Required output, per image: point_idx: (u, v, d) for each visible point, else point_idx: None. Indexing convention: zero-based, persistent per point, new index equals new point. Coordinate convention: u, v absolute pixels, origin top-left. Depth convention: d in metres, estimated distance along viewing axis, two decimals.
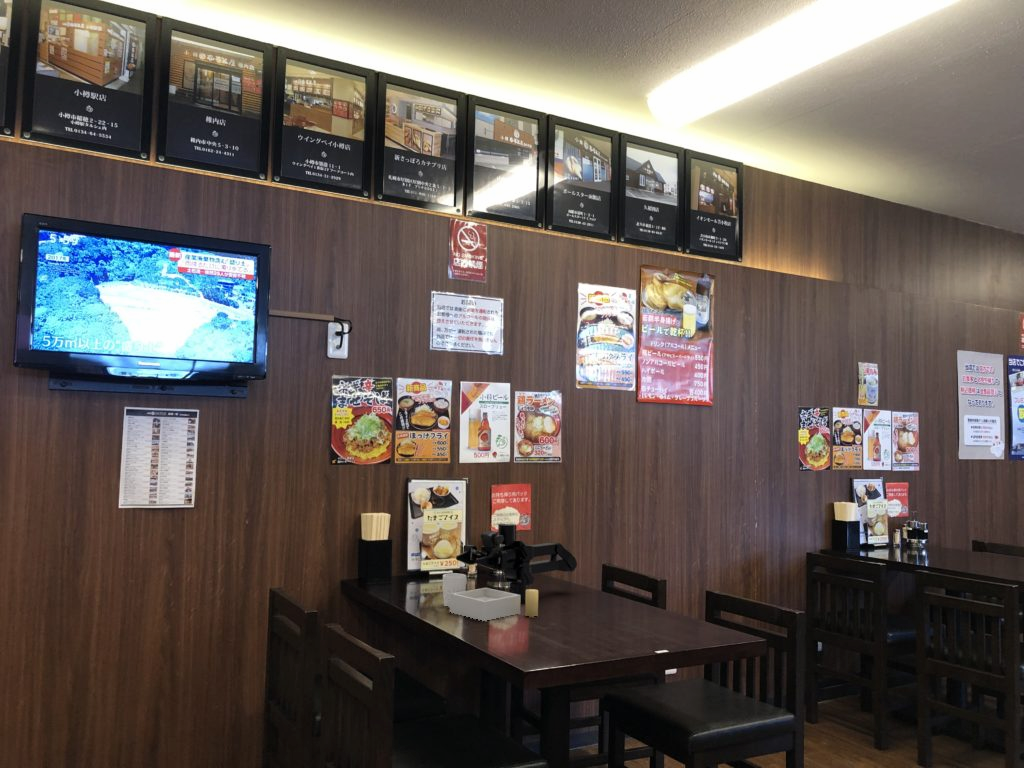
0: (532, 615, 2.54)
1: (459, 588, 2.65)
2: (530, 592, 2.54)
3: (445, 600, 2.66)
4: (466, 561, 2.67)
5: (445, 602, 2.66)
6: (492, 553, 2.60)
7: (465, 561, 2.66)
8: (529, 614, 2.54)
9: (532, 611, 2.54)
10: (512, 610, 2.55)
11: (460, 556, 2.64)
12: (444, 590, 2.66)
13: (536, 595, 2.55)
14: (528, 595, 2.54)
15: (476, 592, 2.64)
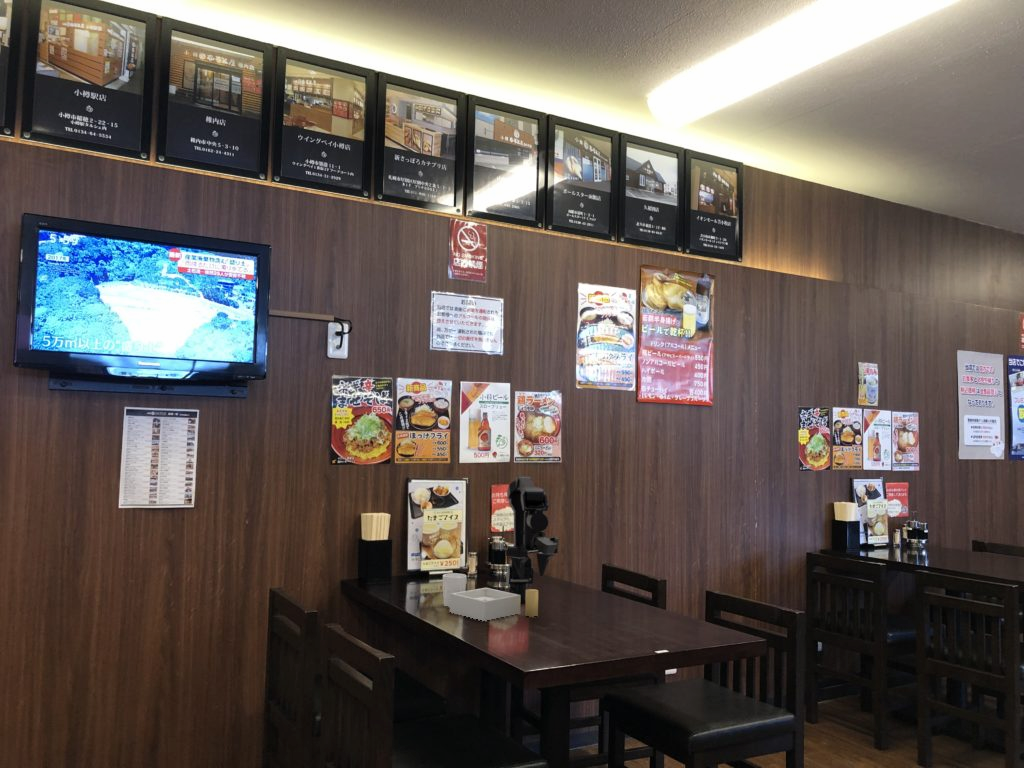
0: (532, 615, 2.54)
1: (459, 588, 2.65)
2: (530, 592, 2.54)
3: (445, 600, 2.66)
4: None
5: (445, 602, 2.66)
6: (550, 557, 2.59)
7: None
8: (529, 614, 2.54)
9: (532, 611, 2.54)
10: (512, 610, 2.55)
11: None
12: (444, 590, 2.66)
13: (536, 595, 2.55)
14: (528, 595, 2.54)
15: (476, 592, 2.64)
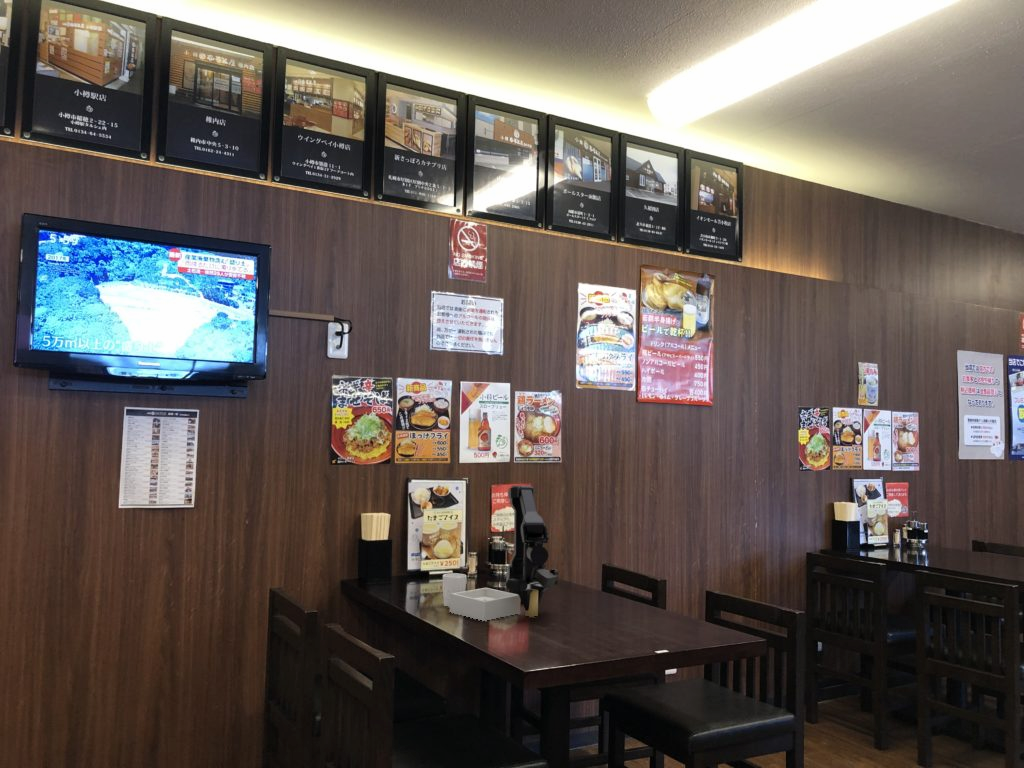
0: (532, 615, 2.54)
1: (459, 587, 2.65)
2: None
3: (445, 600, 2.66)
4: None
5: (445, 602, 2.66)
6: (544, 589, 2.57)
7: None
8: (529, 614, 2.54)
9: (532, 611, 2.54)
10: (512, 610, 2.55)
11: None
12: (444, 590, 2.66)
13: (536, 595, 2.55)
14: None
15: (476, 592, 2.64)
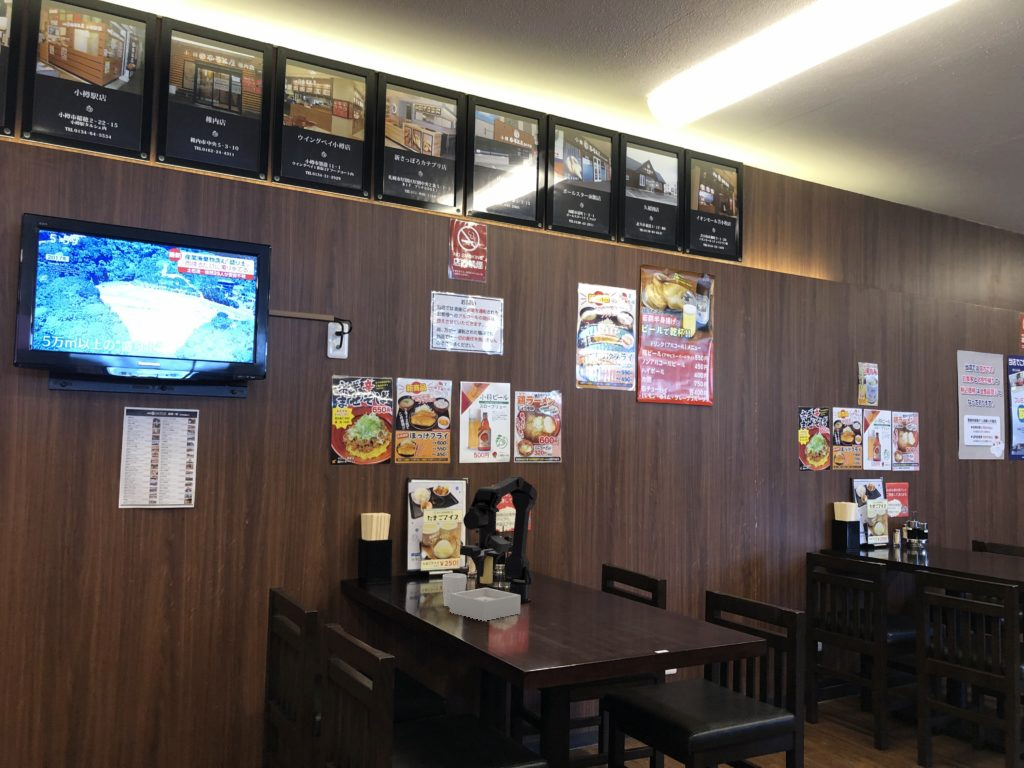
0: (486, 581, 2.56)
1: (459, 588, 2.65)
2: None
3: (445, 600, 2.66)
4: None
5: (445, 602, 2.66)
6: (499, 556, 2.60)
7: None
8: (483, 580, 2.56)
9: (486, 577, 2.56)
10: (512, 610, 2.55)
11: None
12: (444, 590, 2.66)
13: (490, 562, 2.57)
14: None
15: (476, 592, 2.64)
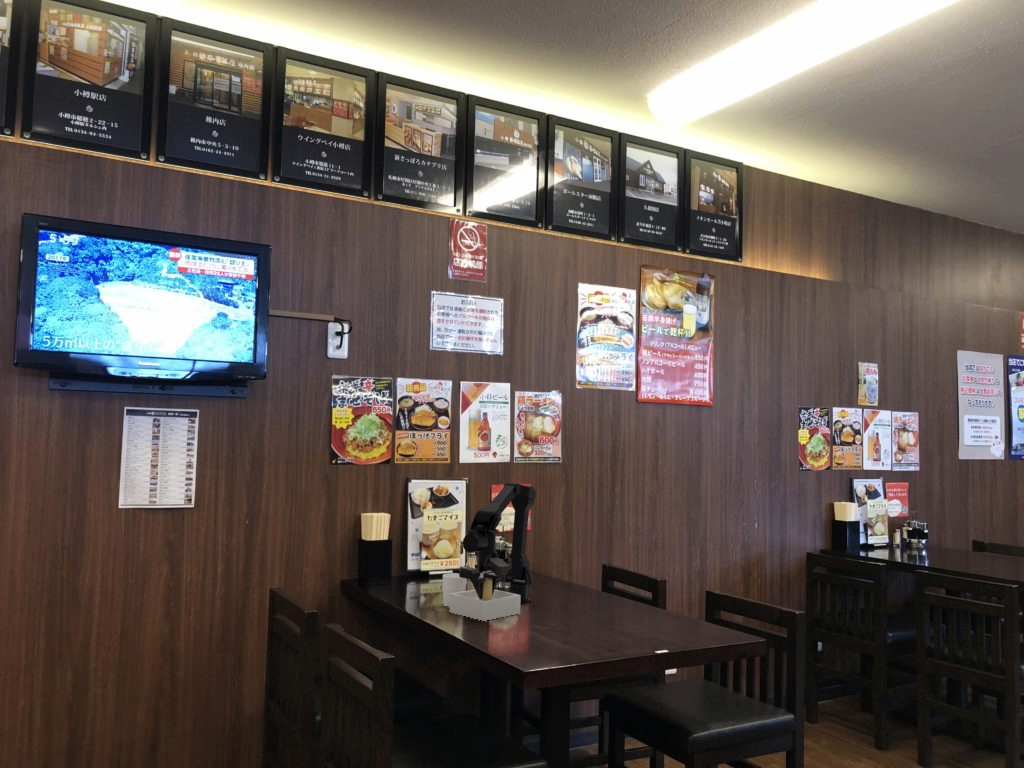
0: None
1: (459, 588, 2.65)
2: (484, 581, 2.56)
3: (445, 600, 2.66)
4: None
5: (445, 602, 2.66)
6: (498, 578, 2.59)
7: None
8: None
9: (485, 599, 2.56)
10: (512, 610, 2.55)
11: None
12: (444, 590, 2.66)
13: (490, 584, 2.57)
14: None
15: None
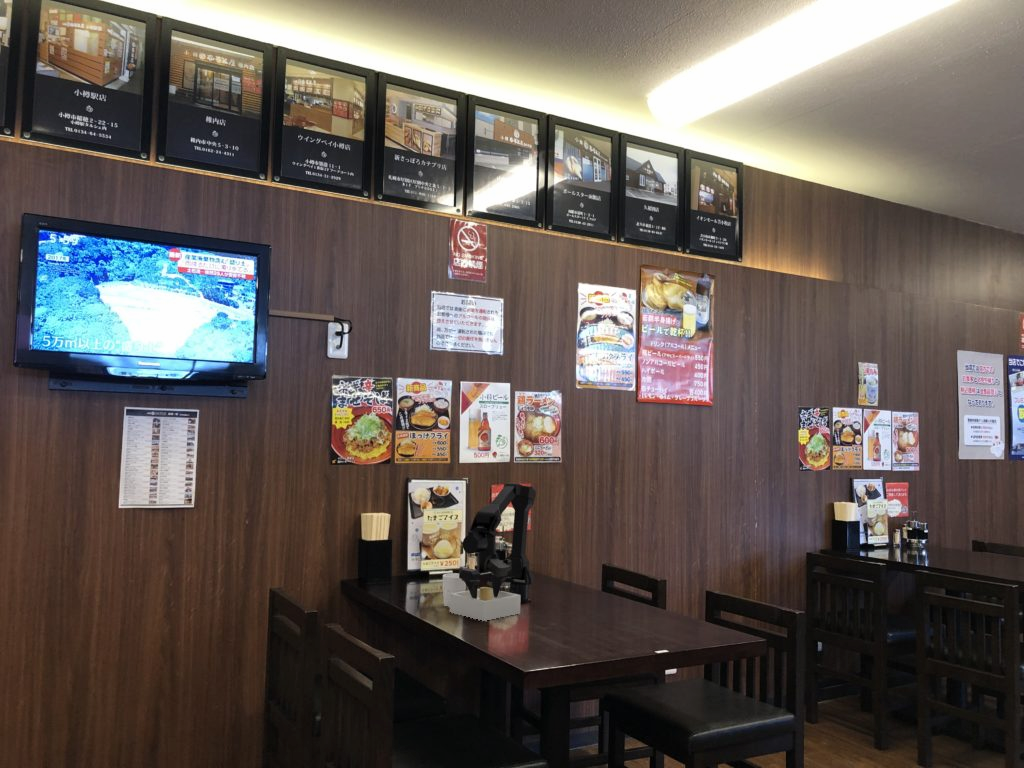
0: None
1: (459, 588, 2.65)
2: (483, 590, 2.56)
3: (445, 600, 2.66)
4: None
5: (445, 602, 2.66)
6: (504, 578, 2.61)
7: None
8: None
9: None
10: (512, 610, 2.55)
11: None
12: (444, 590, 2.66)
13: (490, 593, 2.56)
14: (481, 593, 2.56)
15: None
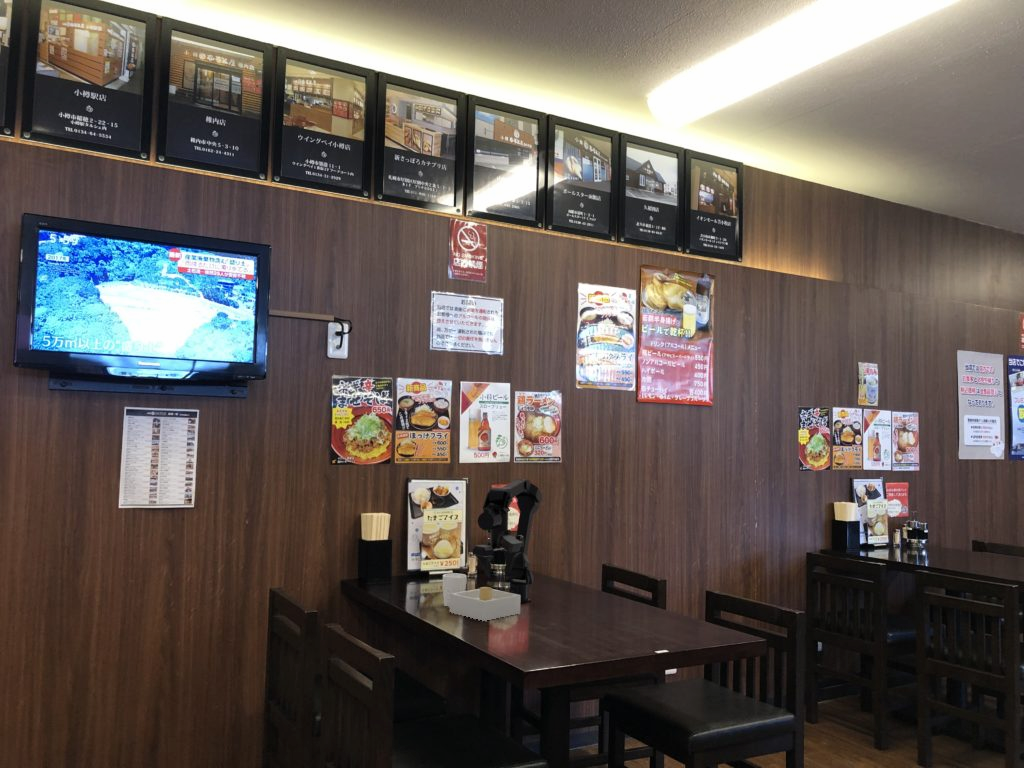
0: None
1: (459, 587, 2.65)
2: (484, 590, 2.56)
3: (445, 600, 2.66)
4: None
5: (445, 602, 2.66)
6: (516, 554, 2.65)
7: None
8: None
9: None
10: (512, 610, 2.55)
11: None
12: (444, 590, 2.66)
13: (490, 593, 2.56)
14: (482, 593, 2.56)
15: (476, 592, 2.64)
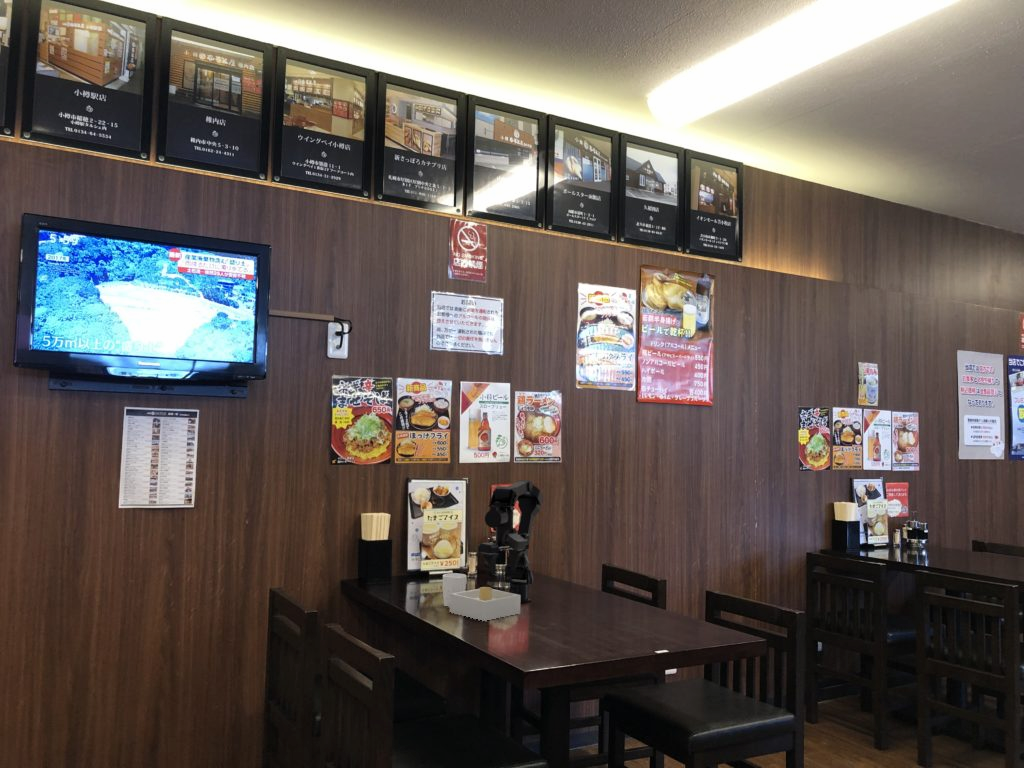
0: None
1: (459, 588, 2.65)
2: (483, 590, 2.56)
3: (445, 600, 2.66)
4: None
5: (445, 602, 2.66)
6: (521, 553, 2.67)
7: None
8: None
9: None
10: (512, 610, 2.55)
11: None
12: (444, 590, 2.66)
13: (489, 593, 2.56)
14: (481, 593, 2.56)
15: (476, 592, 2.64)
